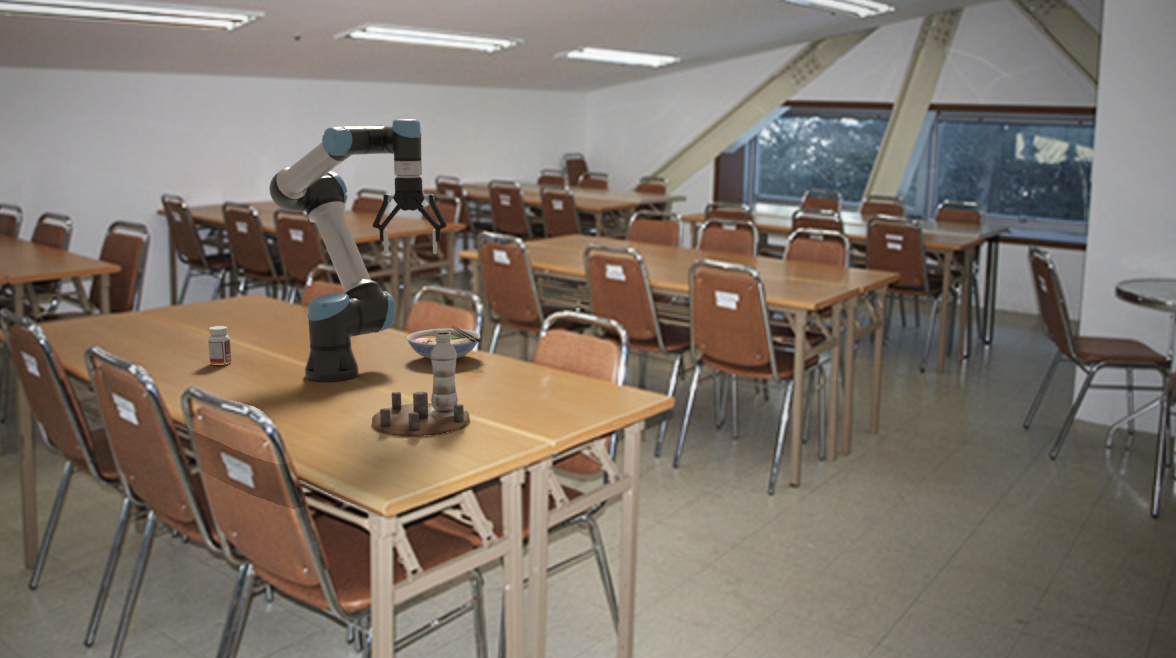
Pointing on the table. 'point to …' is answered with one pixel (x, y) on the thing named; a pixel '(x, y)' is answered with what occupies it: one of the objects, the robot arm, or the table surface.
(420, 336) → the ramen bowl
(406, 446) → the table surface
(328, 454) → the table surface
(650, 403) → the table surface
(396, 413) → the board
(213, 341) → the pill bottle
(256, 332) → the table surface
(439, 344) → the plastic bottle
